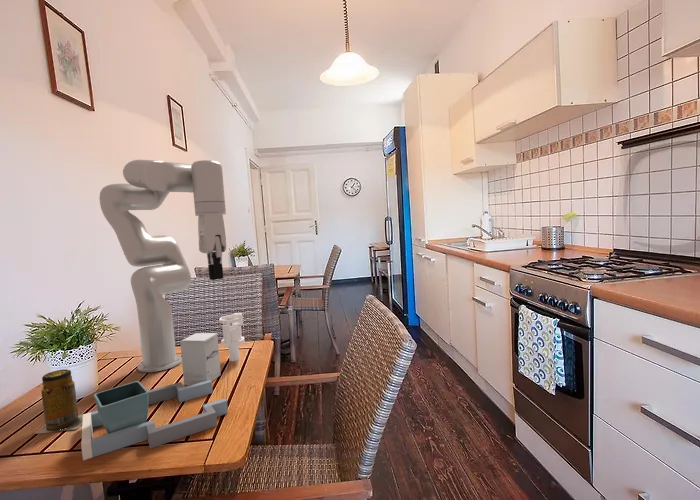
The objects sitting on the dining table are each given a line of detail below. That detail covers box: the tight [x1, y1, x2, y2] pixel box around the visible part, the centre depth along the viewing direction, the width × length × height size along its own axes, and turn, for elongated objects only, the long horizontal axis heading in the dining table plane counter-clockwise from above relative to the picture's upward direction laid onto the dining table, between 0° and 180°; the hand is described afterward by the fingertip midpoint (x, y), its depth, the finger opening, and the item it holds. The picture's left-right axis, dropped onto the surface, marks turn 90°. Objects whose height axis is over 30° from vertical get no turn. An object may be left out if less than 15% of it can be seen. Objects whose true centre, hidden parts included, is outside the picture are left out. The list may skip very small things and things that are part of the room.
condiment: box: [35, 368, 83, 435], centre depth 87 cm, size 7×8×12 cm
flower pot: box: [93, 380, 149, 434], centre depth 82 cm, size 9×9×9 cm
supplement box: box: [179, 332, 221, 386], centre depth 108 cm, size 7×7×13 cm
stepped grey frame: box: [80, 380, 229, 461], centre depth 87 cm, size 23×28×3 cm
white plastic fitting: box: [219, 312, 245, 362], centre depth 122 cm, size 7×7×15 cm
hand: (216, 278), depth 101 cm, fingers closed
